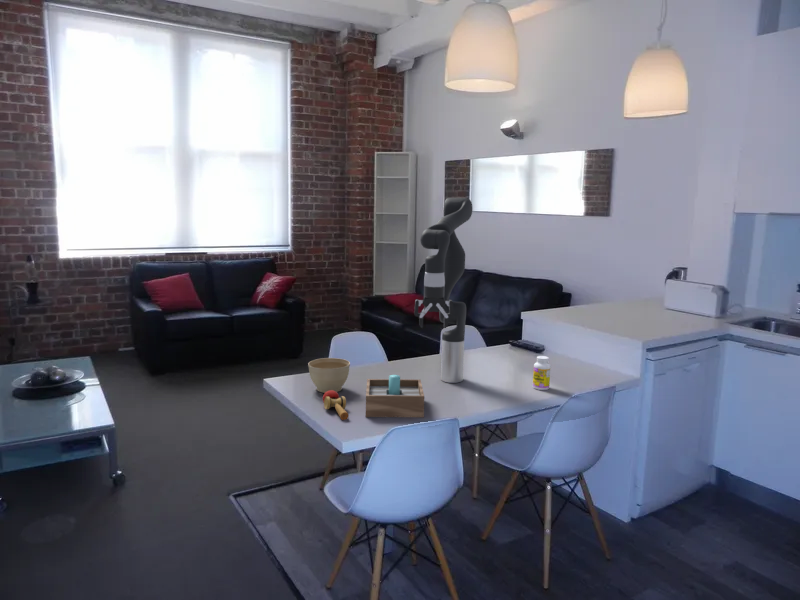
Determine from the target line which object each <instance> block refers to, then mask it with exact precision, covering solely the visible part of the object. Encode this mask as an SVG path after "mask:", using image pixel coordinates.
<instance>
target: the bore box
mask: <svg viewBox="0 0 800 600" xmlns="http://www.w3.org/2000/svg"><path fill="white" fill-rule="evenodd" d="M424 417H425V393H424V389H423V385H422V380H421V379H414V378H413V379H412V378H411V379H406V378H405V379H403V378H400V395H389V378H366V391H365V418H424Z"/></svg>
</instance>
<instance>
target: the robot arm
mask: <svg viewBox="0 0 800 600" xmlns="http://www.w3.org/2000/svg"><path fill="white" fill-rule="evenodd" d="M472 215H473V203H472V201H471V199H469V198H466V197H447V198H446V199H445V201H444V204H443V217H441V218H440V219H439V220H438V221H437V222H436V223H435V224H433V225H431V226H429V227H426V229H424V230H423V231H422V232H421V235H420V241H419V242H420V244H421V246H422V247H423V248H425V249H427V250H438V251H437V253H436V254H433V255H432V254H431V255H428V256H426V257H425V260H424V265H425V267H424V268H425V269H424V279H423V299H415V301H414V312H413V314H414V317H417V318H418V319H419V320H418V325H419V327H420V328H421V329H423V328H424V316H425V315H426V314H427V313H428V312H429V313H433V312H435V313H438V314H439V322H441V323H443V328H444V329H446V328H447V327H448V325H449V324H450V325H456V327H455V328H452V329H449V330H446V331H444V332H442V333H441V334H442V335H441V359H440V360H441V362H440V363H441V365H440V366H441V367H440V380H441V381H442V382H446V383H452V384H453V383H454V384H455V383H461V382H463V381H464V360H465V359H464V357H465V335H466V333H465V332H466V319H467V305H466V303H465V302H463V301H453V300H452V299H450V297H451V293H452V291H453V289H454V287H455V285H456V283H458V281H459V280H460V279H461V277H462V276H463V274H464V272H465V269H466V268H465V267H466V252H465V250H464V247H463V246H462V243H461V242H460V240H459V238H458V237H457V234H456V232H455V230H456V229H458V228H459V227H460V226H462V225H463V224H465V223H466V222H468V221H469V220H470V219H471V217H472ZM421 305H423V306H424V307H423V309H422V310H421V312H419V307H421Z"/></svg>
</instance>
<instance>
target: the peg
mask: <svg viewBox="0 0 800 600" xmlns="http://www.w3.org/2000/svg"><path fill="white" fill-rule="evenodd" d="M388 379H389V395H400V379H401V376H400V375H399V374H391V375H390V374H389V375H388Z"/></svg>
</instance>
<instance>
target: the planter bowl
mask: <svg viewBox="0 0 800 600" xmlns="http://www.w3.org/2000/svg"><path fill="white" fill-rule="evenodd" d="M307 364H308V365H307V367H308V371H309V376H310V380H311V382H312V383H313V384H314V386H315V387H316V390H317V392H320V393H324V394H325V392H327V391H329V390H333V391H335V392H337V393H338V392H340V391H342V389H343V386H344V384H345V383H346V381H347V379H348V376H349V374H350V373H349V372H350V366H351V362H350V361H349V360H347V359H344V358H338V357H324V358H323V357H322V358H317V359H313V360H311V361H309V362H308V363H307Z"/></svg>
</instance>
